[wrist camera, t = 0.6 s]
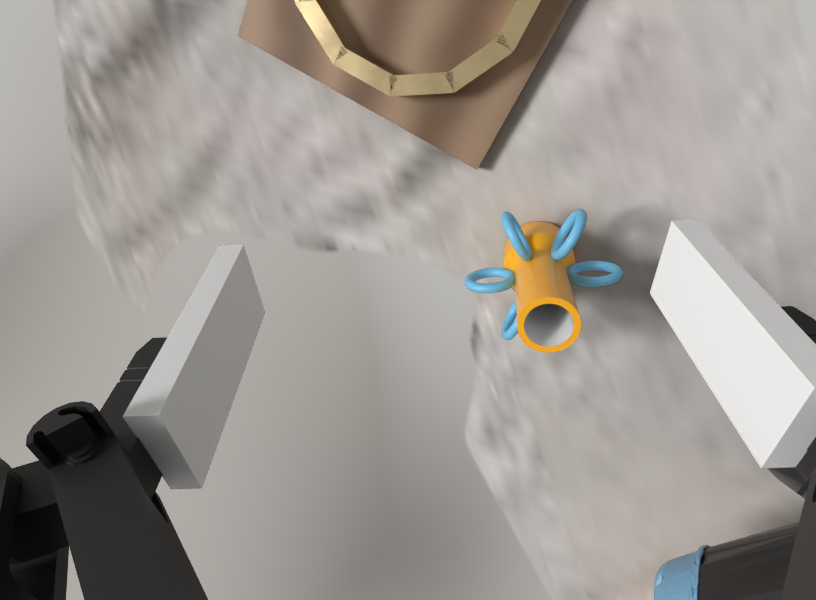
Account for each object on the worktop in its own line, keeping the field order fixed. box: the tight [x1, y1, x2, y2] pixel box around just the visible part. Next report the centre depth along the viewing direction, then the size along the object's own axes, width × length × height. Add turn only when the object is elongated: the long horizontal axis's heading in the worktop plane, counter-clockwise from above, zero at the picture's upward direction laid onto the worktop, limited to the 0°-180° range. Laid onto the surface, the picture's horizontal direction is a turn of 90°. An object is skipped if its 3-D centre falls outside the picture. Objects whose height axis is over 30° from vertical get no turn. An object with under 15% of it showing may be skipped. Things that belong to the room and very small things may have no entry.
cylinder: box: [465, 209, 623, 352], centre depth 38 cm, size 12×10×15 cm
